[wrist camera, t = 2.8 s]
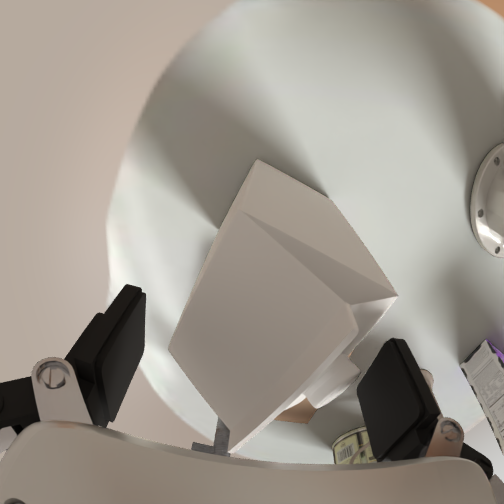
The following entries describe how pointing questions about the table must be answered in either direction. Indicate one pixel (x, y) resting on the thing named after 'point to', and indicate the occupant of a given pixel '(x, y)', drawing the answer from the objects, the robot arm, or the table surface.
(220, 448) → the hook post
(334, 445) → the coffee can
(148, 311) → the table surface
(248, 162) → the table surface
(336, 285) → the milk carton
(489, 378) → the candy box
